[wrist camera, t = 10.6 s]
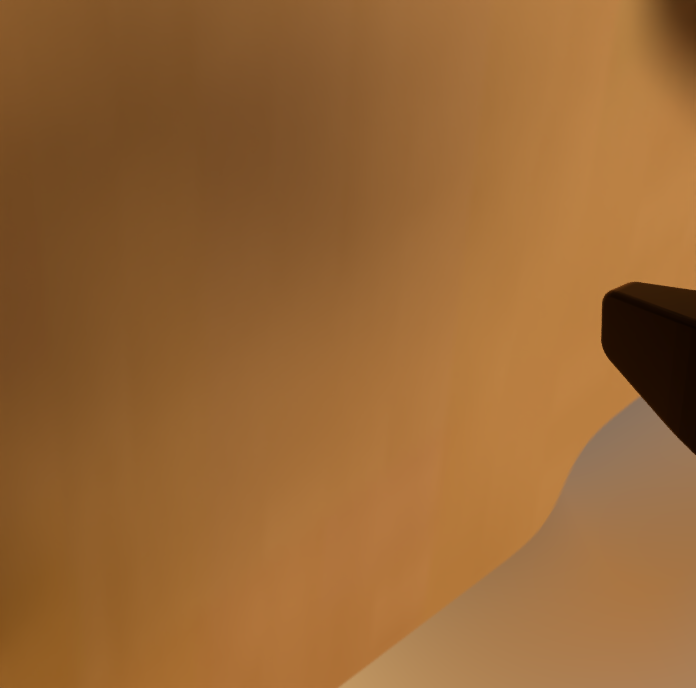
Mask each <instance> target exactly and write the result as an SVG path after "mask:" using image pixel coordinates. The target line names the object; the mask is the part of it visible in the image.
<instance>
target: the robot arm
mask: <svg viewBox="0 0 696 688" xmlns="http://www.w3.org/2000/svg"><path fill="white" fill-rule="evenodd" d="M601 343H602V347H603V350H604V352H605V354H606V356H607V357H608V359H609V360H610V361H611V362H612V363H613V364H614V366H615V367H616V368H617V369H618V370H619V371H620V373H621V374H622V375H623V376H624V377H625V378H626V379H627V381H628V382H629V383H630V384H631V385H632V386H633V388H634V389H635V390H636V391H637V392H638V393H639V394H640V396H641V397H642V398H643V399H644V400H645V401H646V402H647V404H648V405H649V406H650V407H651V408H652V409H653V411H655V413H656V414H657V415H658V416H659V417H660V419H661V420H662V421H663V422H664V423H665V424H666V425H667V427H668V428H669V429H670V430H671V431H672V432H673V433H674V434H675V435H676V436H677V437H678V438H679V439H680V440H681V441H682V442H683V443H684V444H685V445H686V446H687V447H688V448H689V449H690V450H691V451H692V452H693V453H694V454H695V455H696V290H689V289H682V288H675V287H668V286H661V285H655V284H648V283H641V282H630V283H627V284H625V285H622V286H620V287H618V288H615V289H613V290H611V291H609V292H608V293H606V294H605V296H604V298H603V301H602V328H601Z"/></svg>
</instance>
